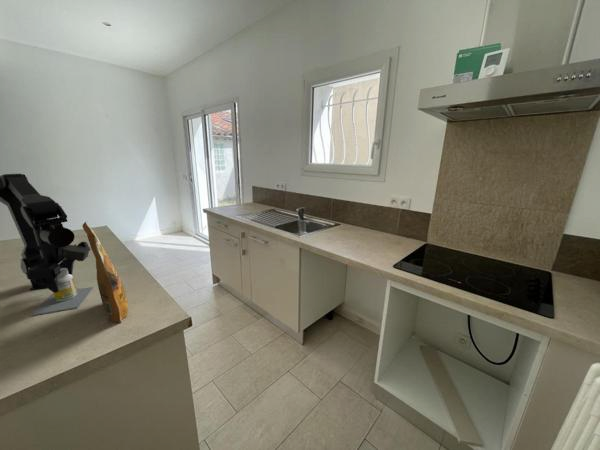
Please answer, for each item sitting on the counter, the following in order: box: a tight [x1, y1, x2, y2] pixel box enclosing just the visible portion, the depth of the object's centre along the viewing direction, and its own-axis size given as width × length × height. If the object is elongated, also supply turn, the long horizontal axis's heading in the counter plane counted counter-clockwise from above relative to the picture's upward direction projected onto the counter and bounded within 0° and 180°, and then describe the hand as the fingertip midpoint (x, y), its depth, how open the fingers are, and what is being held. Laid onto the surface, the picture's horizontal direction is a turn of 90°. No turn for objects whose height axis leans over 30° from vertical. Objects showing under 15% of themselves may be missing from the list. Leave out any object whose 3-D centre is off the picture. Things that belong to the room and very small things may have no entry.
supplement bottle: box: [52, 268, 77, 301], centre depth 80 cm, size 5×5×10 cm
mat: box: [30, 286, 94, 317], centre depth 80 cm, size 11×13×1 cm
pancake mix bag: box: [81, 221, 129, 323], centre depth 72 cm, size 7×19×28 cm, turn 38°
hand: (63, 284), depth 80 cm, fingers open, 9 cm apart
